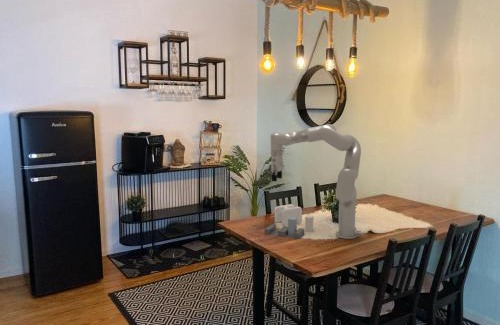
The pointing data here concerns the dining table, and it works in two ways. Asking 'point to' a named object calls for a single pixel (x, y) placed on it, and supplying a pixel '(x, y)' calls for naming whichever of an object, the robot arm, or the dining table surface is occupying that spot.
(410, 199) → the dining table surface
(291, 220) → the slate plug
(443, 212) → the dining table surface
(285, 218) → the cable organizer
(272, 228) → the grey blocky pieces
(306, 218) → the cream plug
